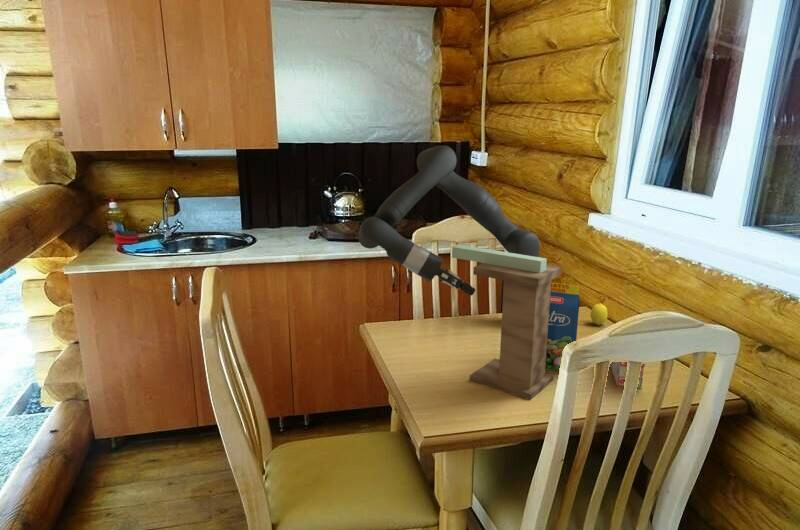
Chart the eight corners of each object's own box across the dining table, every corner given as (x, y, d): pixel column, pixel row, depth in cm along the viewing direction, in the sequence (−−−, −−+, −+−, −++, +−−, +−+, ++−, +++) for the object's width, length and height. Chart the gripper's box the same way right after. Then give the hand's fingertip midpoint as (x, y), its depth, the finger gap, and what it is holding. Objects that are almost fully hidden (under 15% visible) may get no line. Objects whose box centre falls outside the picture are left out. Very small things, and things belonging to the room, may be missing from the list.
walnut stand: (494, 363, 164) (499, 256, 156) (553, 380, 154) (561, 267, 146) (469, 380, 154) (473, 266, 146) (530, 399, 143) (538, 278, 135)
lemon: (608, 328, 192) (611, 305, 190) (592, 328, 192) (594, 305, 190) (603, 322, 197) (605, 300, 195) (587, 322, 198) (589, 300, 196)
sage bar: (458, 255, 158) (459, 244, 158) (546, 270, 143) (546, 258, 142) (452, 257, 156) (452, 246, 155) (540, 272, 140) (540, 261, 139)
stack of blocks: (605, 354, 171) (608, 316, 168) (626, 356, 170) (631, 317, 166) (617, 386, 150) (621, 343, 147) (642, 388, 149) (647, 345, 146)
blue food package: (571, 374, 157) (578, 288, 151) (528, 366, 162) (533, 283, 156) (574, 365, 163) (581, 282, 157) (532, 358, 168) (537, 277, 161)
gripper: (430, 251, 151) (482, 281, 151) (428, 250, 165) (475, 278, 165) (416, 275, 151) (468, 305, 152) (415, 272, 166) (463, 300, 166)
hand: (472, 291), depth 159 cm, fingers open, 8 cm apart
